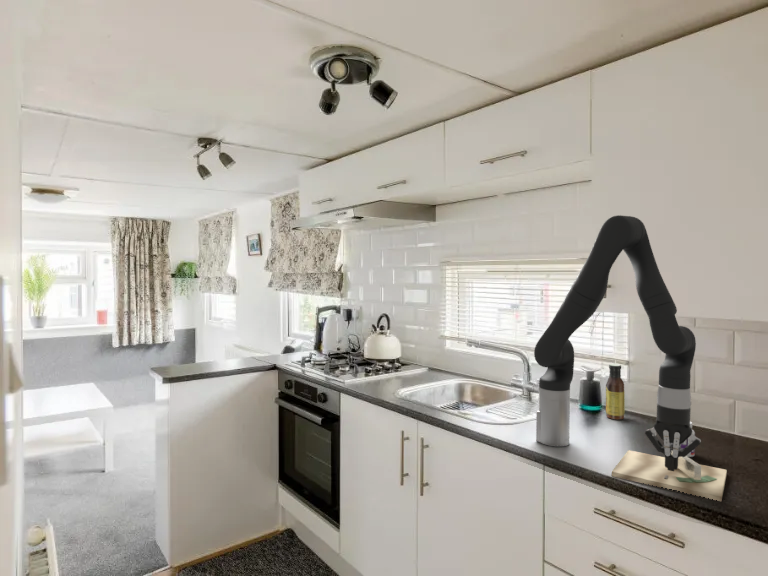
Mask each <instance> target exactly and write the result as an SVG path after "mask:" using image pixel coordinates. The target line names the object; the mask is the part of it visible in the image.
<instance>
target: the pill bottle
mask: <svg viewBox="0 0 768 576" xmlns="http://www.w3.org/2000/svg"><path fill="white" fill-rule="evenodd" d="M690 428H691V429H692V434H693V435H695V436H696V431H695V430H694V429H693V422H692V421H690ZM689 440H690V437H689V438H688V439H687V440H685V441H684V442H683V443H682V444H681V449H680V450H683V449H684V448H685V447H686V446H688V445H689V444H690V443H689ZM695 452H696V448H695V449H694V450H692V451H691V452H690V453H689V454H688V455H686V456H687V457H689V458H693V457H695Z"/></svg>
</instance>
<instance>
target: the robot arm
mask: <svg viewBox="0 0 768 576" xmlns="http://www.w3.org/2000/svg"><path fill="white" fill-rule="evenodd" d="M622 251H624V253H625V255H626V256H627V258H628V259H629V261H630V264H631V266H632V269H633V272H634V280H635V288H636V293H637V296H638V299H639V300H640V302H641V305H642V307H643V309H644V311H645V313H646V314H647V317H648V320H649V327H650V330H651V334H652V338H653V341H654V342H655V345H656V346H657V348H658V349H659V350H660V351H661V352H662V353H663V354H665V356H664V361H663V362H662V363H661V364H660V366H659V371H658V387H657V392H656V393H657V394H656V421H655V423H654V425H653V427H651V428H647V429H646V431H645V432H644V434H645V436H646V437H647V438H648V440H649V441H650V442H651V444H652V445H653V447H654V448H655V449H656V451H657V452H658V453H662V454H663V455H664V457H665V467H666V468H668V470H669V471H675V470H676V469H677V468H678V457H685V456H686V455H688V454H689V453H690V452H691V451H692V450H694V449H695V450H696V448H698V446H699V445H701V442H702V440H701V438H700V437H697V436H696V434H695V435H693V434H692V430H693V428H690V422H691V410H692V395H691V370H692V365H693V362H694V358H695V353H696V347H697V346H696V345H697V343H696V342H697V341H696V337H695V334H694V332H693V331H692V330H691V329H690V328H688V327H686V326H683V325H679V324H678V323H679V322H678V321H677V318H676V315H677V311H678V308H677V305H676V303H675V301H674V299H673V298H672V296H671V294H670V291H669V289H668V287H667V285H666V283H665V280H664V279H663V277H662V274H661V271H660V270H659V266H658V264H657V261H656V258H655V256H654V253H653V248H652V246H651V243H650V239H649V235H648V232H647V228H646V226H645V224H644V222H643V221H642V220H641V219H639V218H638V217H635V216H631V215H621V214H620V215H614V216H610V217H608V219H606V220H605V221H604V223H603V224H602V225H601V227H600V229H599V231H598V233H597V235H596V239H595V241H594V243H593V246H592V248H591V250H590V252H589V254H588V257H587V258H586V260H585V261H584V264H583V265H582V267H581V269H580V271H579V272H578V275H577V277H576V278H575V280H573V281H574V282H573V283H572V285H571V286H570V288H569V290H568V292H567V293H566V295H565V297H564V299H563V302H562V303H561V305H560V307H559V308H558V311H556V314H555V315H554V318H553V319H552V321H551V322H550V324H549V325H548V327H547V328H546V330H544V332H543V333H542V335H541V336H540V338H539V339H538V341H537V342H536V344H535V347H534V352H533V354H534V359H535V361H536V363H537V365H539V366H540V367H543V368H547V369H546V371H545V373H543V375H542V376H541V377H540V378H539V380H538V381H539V382H538V383H539V384H538V385H539V387H538V410H536V420H535V421H536V430H535V431H536V433H535V441H536V442H539V443H541V444H542V445H546V446H550V447H567V446H569V445H570V429H571V428H570V417H571V413H570V412H571V383H572V382H573V378H574V367H575V350H574V345H573V343H572V342H571V341H570V340H569V339H570V337H571V336H572V334H574V333H575V332H576V331H577V330H578V329H579V328H580V327H581V326H583V325H584V324H585V323H586V322H587V321H588V320H589V319H590V318H591V317H592V316H593V315H594V313H596V311H597V310H598V308H599V306H600V304H601V303H602V301H603V299H604V298H605V295H606V294H607V290H608V285H609V276H610V272H611V269H612V267H613V266H614V263H615V262H616V260H617V259H618V257H619V255H620V254H621V253H622ZM657 434H658V436H659V437H660V439H661V440H662V441H663V444H662V442H661V441H660V440H659V438H658V437H657ZM689 437H690V440H689V443H690V444H689V445H688V446H686V447H685V448H684V449H683V450H680V444H682V443H683V442H684V441H685V440H687V439H688V438H689ZM671 443H673V453H672V455H671V452H672V450H671Z"/></svg>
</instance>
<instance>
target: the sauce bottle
mask: <svg viewBox="0 0 768 576" xmlns="http://www.w3.org/2000/svg"><path fill="white" fill-rule="evenodd" d="M608 368H609V375H608V379H607V381H606V384H605V415H606V417H607V418H608V419H610V420H617V421H618V420H623V419H624V418H625V413H626V412H625V408H626V407H625V399H626V398H625V383H624V381H623V379H622V375H621V370H622V365H621V364H619V363H609V365H608Z"/></svg>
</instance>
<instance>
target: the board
mask: <svg viewBox="0 0 768 576" xmlns="http://www.w3.org/2000/svg"><path fill="white" fill-rule="evenodd" d="M698 464H699V463H698ZM699 465H701V480H694V479H693V478H691V477H690V476H688V475H687V474H686V473H684V472H683V471H682V470H680V469H679V468H677V469H676V470H675V471H669V470H668V468H666V467H665V456H659V455H653V454H651V453H650V454H649V453H644V452H639V451H635V450H629V449H628V450H627V451H626V453H625V454H624V455H623V456H622V458H621V459H620V460H619V461H618V463H617V464H616V465H615V467H614V468H613V469H612V471H611V477H615V478H617V479H623V480H628V481H630V482H636V483H641V484H643V483H644V484H643V485H648V484H649V485H648V486H652V485H653V487H656V486H657V488H661V487H663V488H662V489H665V488H667V489H666V490H669V489H672V490H671V491H673V490H677V491H676V492H678V491H680V492H679V493H682V492H684V493H683V494H686V493H687V494H686V495H690V494H692V496H695V495H696V496H695V497H699V496H701V497H700V498H703V497H705V498H704V499H708V498H709V500H712V499H713V501H716V500H717V501H716V502H720V503H721V502H722V499H723V495H724V492H725V491H724V490H725V487H726V485H725V484H726V481H727V480H726V479H727V476H728V475H727V474H728V473H727V472H728V471H727V469H724V468H719V467H713V466H709V465H704V464H699Z"/></svg>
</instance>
